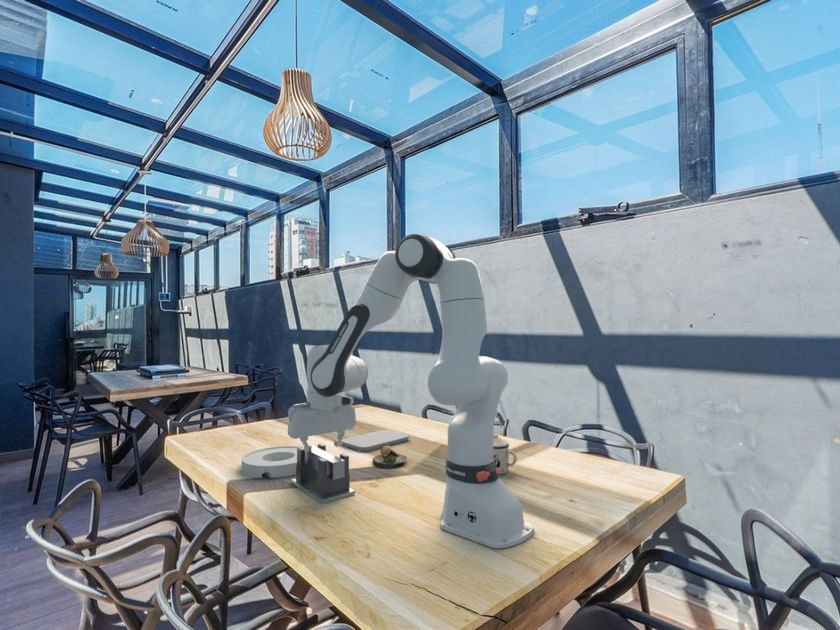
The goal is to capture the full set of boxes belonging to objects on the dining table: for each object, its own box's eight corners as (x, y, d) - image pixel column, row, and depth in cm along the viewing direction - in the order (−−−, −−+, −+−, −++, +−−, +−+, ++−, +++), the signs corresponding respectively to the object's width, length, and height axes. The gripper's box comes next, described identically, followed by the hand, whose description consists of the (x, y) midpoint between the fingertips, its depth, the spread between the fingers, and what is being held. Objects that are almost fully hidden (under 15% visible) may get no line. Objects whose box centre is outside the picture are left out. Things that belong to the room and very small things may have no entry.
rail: (344, 477, 117) (344, 460, 117) (333, 479, 115) (333, 463, 115) (312, 459, 132) (312, 445, 133) (301, 462, 130) (301, 447, 130)
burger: (402, 470, 140) (402, 447, 140) (367, 467, 142) (368, 445, 143) (410, 459, 152) (410, 438, 152) (378, 457, 154) (378, 436, 154)
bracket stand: (354, 494, 119) (354, 456, 119) (321, 503, 112) (322, 463, 113) (321, 475, 134) (322, 441, 135) (291, 482, 128) (291, 447, 128)
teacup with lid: (475, 471, 138) (475, 435, 138) (489, 464, 145) (489, 429, 146) (510, 479, 131) (509, 440, 131) (522, 471, 138) (522, 434, 138)
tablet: (337, 445, 170) (337, 440, 170) (386, 434, 188) (386, 429, 189) (363, 454, 158) (363, 448, 159) (412, 440, 177) (412, 435, 177)
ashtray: (293, 452, 160) (293, 442, 160) (326, 467, 143) (326, 455, 144) (230, 466, 144) (230, 454, 144) (259, 484, 127) (259, 471, 127)
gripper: (292, 406, 115) (293, 458, 114) (358, 398, 128) (358, 444, 127) (283, 403, 120) (283, 453, 119) (347, 396, 133) (348, 440, 132)
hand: (323, 448), depth 123 cm, fingers open, 8 cm apart
